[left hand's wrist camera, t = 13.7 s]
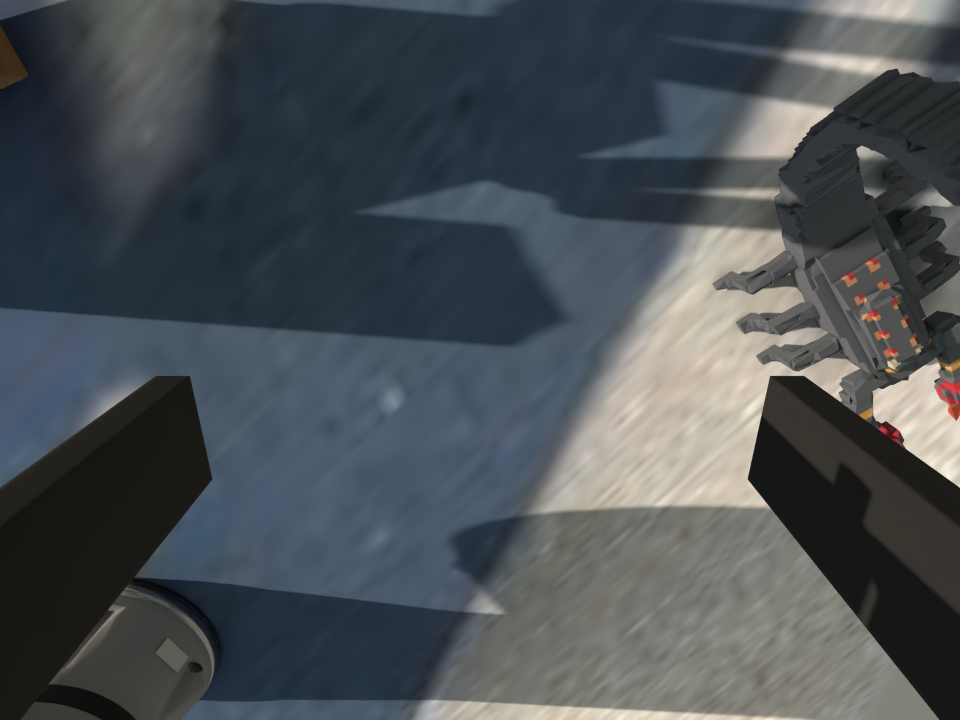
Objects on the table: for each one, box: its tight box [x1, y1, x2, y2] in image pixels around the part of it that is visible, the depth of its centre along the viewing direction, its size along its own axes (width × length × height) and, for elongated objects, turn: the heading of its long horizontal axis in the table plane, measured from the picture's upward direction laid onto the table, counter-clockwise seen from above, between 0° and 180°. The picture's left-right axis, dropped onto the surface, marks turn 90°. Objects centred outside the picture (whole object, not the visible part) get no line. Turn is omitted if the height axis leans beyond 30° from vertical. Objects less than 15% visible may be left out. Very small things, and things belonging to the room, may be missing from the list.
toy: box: [713, 69, 960, 449], centre depth 29 cm, size 13×27×18 cm, turn 37°
